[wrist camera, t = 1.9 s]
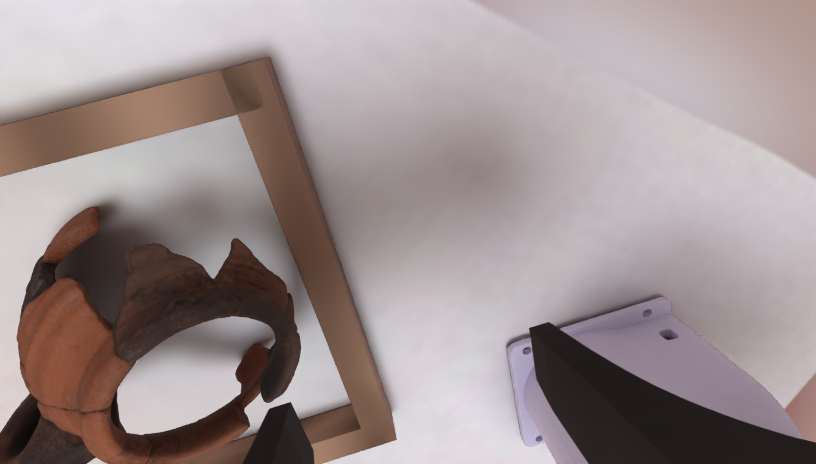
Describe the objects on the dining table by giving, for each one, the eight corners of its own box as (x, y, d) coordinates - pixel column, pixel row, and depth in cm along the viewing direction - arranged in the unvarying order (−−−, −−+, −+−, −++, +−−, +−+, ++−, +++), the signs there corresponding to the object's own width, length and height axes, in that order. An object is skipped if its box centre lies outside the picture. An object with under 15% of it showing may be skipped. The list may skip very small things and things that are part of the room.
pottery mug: (117, 132, 17) (179, 229, 12) (281, 239, 24) (364, 328, 19) (-109, 377, 16) (-151, 600, 11) (132, 412, 23) (176, 555, 18)
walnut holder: (269, 57, 16) (263, 58, 15) (391, 413, 24) (396, 439, 23) (-104, 152, 15) (-154, 165, 14) (151, 489, 23) (138, 522, 22)
